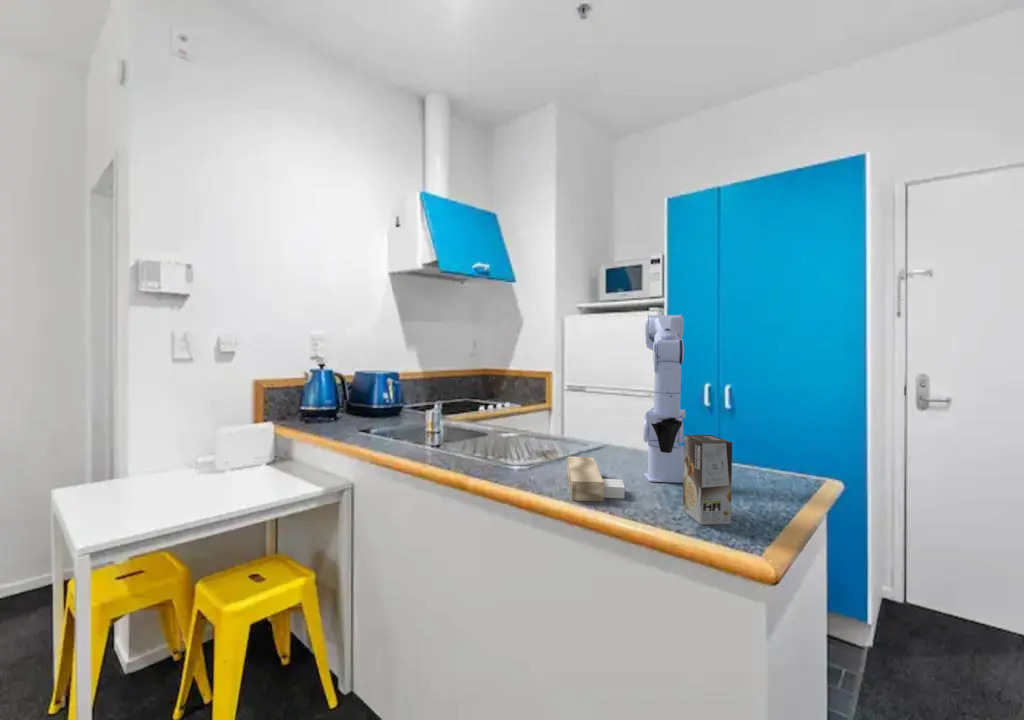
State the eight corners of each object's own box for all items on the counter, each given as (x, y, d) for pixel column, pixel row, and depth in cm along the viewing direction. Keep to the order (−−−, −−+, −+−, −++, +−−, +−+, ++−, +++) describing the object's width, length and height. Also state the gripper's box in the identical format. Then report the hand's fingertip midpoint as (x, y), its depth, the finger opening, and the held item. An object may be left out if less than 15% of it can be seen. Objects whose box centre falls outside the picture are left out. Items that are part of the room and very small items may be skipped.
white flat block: (622, 490, 121) (622, 479, 121) (624, 498, 114) (624, 487, 114) (579, 487, 123) (580, 477, 122) (579, 496, 116) (579, 485, 116)
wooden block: (593, 473, 137) (593, 457, 137) (603, 501, 112) (603, 482, 112) (567, 472, 138) (567, 456, 138) (571, 500, 112) (572, 481, 112)
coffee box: (732, 524, 98) (734, 442, 98) (700, 525, 97) (702, 442, 97) (710, 509, 107) (711, 434, 107) (680, 510, 106) (682, 434, 106)
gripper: (666, 389, 123) (665, 445, 123) (634, 393, 113) (633, 453, 113) (694, 391, 118) (693, 449, 118) (664, 395, 108) (663, 458, 108)
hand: (666, 452), depth 115 cm, fingers closed
